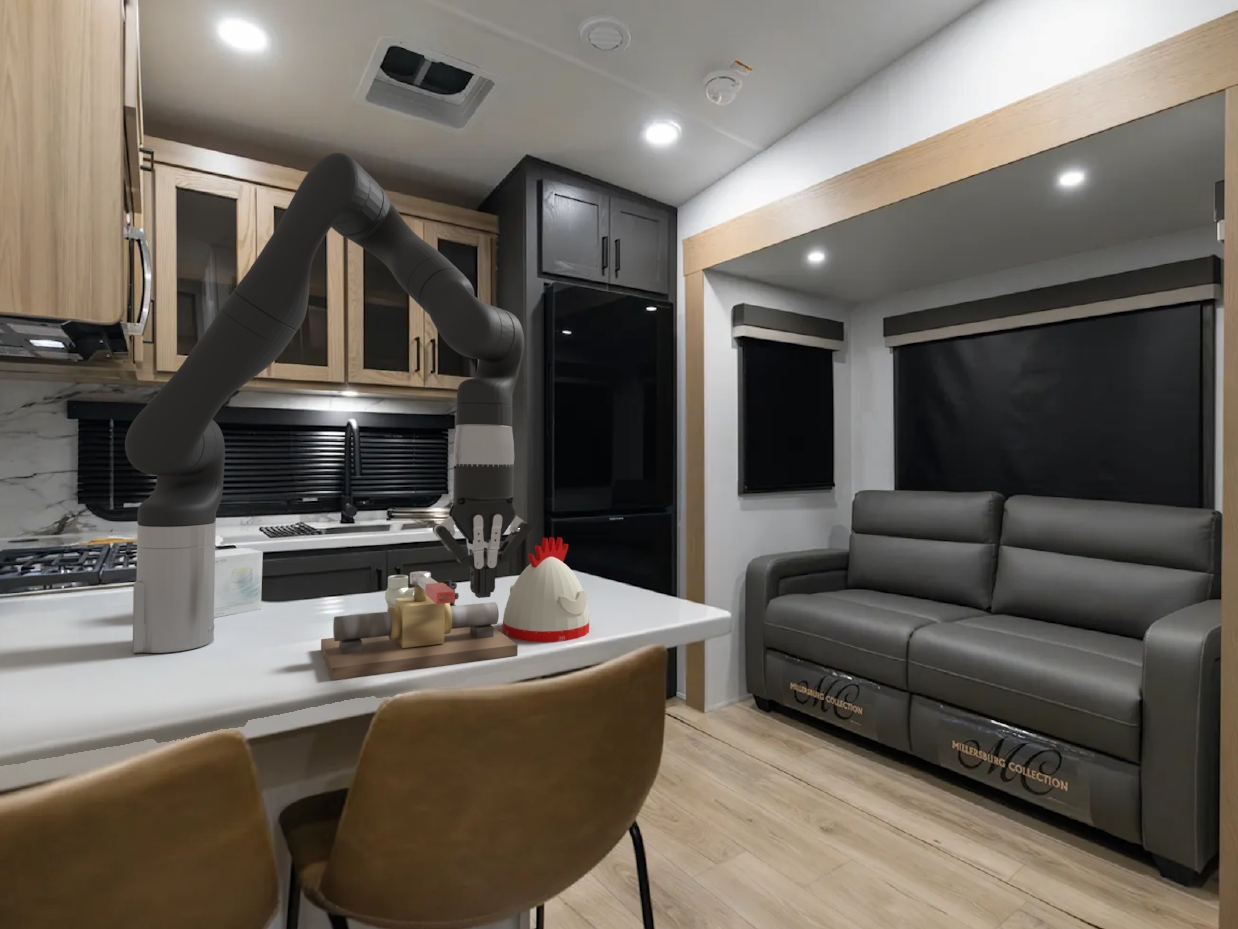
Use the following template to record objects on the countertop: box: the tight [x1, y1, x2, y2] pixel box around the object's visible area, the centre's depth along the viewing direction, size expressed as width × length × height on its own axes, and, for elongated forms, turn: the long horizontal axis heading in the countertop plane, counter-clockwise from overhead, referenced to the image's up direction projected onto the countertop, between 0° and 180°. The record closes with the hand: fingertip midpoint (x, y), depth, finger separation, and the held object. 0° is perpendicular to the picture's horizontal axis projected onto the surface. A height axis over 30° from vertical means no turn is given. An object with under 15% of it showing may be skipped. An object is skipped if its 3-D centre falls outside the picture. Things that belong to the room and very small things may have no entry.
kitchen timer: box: [502, 536, 590, 643], centre depth 106 cm, size 14×14×15 cm
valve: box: [384, 574, 459, 612], centre depth 113 cm, size 7×7×12 cm
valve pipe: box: [320, 585, 519, 681], centre depth 92 cm, size 24×14×10 cm, turn 119°
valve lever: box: [409, 570, 456, 604], centre depth 86 cm, size 15×3×1 cm, turn 29°
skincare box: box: [214, 547, 264, 619], centre depth 112 cm, size 10×6×10 cm, turn 148°
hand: (482, 596), depth 84 cm, fingers closed
